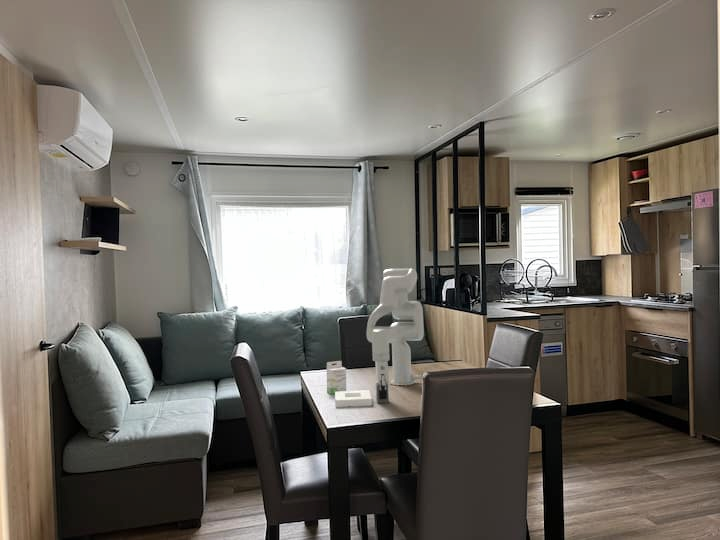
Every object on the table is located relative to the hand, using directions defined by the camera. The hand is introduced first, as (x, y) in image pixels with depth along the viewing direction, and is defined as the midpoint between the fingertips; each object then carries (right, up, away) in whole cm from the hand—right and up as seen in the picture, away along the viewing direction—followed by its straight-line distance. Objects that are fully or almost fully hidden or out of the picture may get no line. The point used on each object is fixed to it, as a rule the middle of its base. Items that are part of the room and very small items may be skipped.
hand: (382, 396), depth 228 cm
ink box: (-21, -3, +21) cm, 30 cm away
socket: (-13, -3, +2) cm, 14 cm away
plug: (0, -2, 0) cm, 2 cm away
